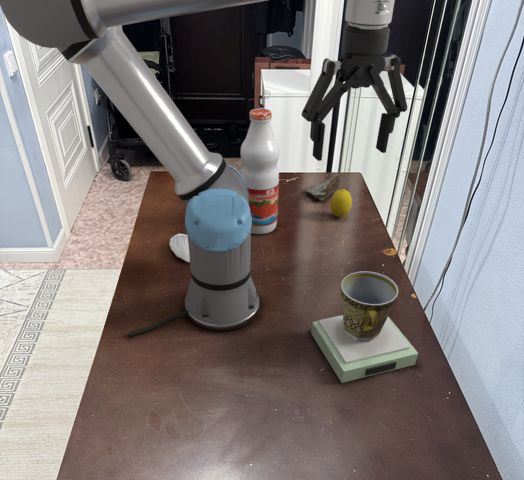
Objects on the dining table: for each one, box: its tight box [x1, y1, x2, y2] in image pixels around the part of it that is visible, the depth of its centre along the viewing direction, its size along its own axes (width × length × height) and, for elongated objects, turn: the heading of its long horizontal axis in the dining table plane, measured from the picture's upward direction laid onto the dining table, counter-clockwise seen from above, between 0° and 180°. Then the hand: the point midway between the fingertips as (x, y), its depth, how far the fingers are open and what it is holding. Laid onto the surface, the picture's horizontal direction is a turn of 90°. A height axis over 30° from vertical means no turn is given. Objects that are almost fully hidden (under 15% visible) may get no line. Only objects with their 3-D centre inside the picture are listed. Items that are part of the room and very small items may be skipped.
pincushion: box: [169, 230, 190, 263], centre depth 116 cm, size 12×6×6 cm, turn 19°
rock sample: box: [305, 173, 341, 201], centre depth 139 cm, size 10×8×9 cm
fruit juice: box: [239, 107, 280, 235], centre depth 118 cm, size 9×9×28 cm
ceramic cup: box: [340, 270, 400, 342], centre depth 88 cm, size 13×10×10 cm
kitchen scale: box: [310, 314, 419, 384], centre depth 93 cm, size 15×14×4 cm
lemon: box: [329, 188, 353, 219], centre depth 129 cm, size 6×6×8 cm
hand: (349, 154), depth 95 cm, fingers open, 13 cm apart
